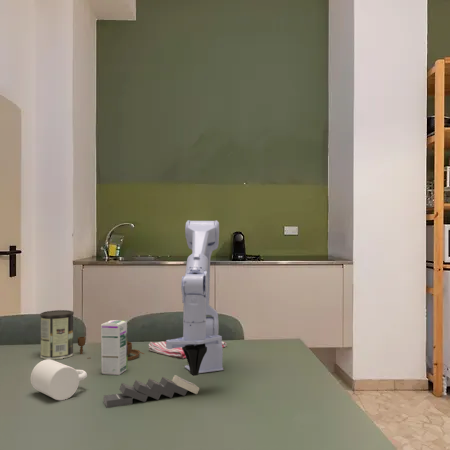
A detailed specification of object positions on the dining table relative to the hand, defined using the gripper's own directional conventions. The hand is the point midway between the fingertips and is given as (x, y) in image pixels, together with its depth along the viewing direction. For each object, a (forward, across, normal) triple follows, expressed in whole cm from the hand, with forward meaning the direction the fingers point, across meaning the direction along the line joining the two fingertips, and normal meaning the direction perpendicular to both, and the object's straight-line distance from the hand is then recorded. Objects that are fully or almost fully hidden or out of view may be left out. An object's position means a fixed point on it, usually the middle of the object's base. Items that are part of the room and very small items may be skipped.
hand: (194, 374), depth 124 cm
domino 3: (+4, -10, 0) cm, 10 cm away
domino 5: (+4, -3, 0) cm, 5 cm away
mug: (+5, -30, +13) cm, 33 cm away
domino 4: (+4, -6, 0) cm, 7 cm away
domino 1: (+4, -16, 0) cm, 17 cm away
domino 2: (+4, -13, 0) cm, 14 cm away
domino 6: (+4, 0, 0) cm, 4 cm away
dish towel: (+5, +15, +43) cm, 46 cm away
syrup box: (+5, -14, +26) cm, 30 cm away
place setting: (+5, -10, +46) cm, 47 cm away
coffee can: (+5, -28, +52) cm, 59 cm away
